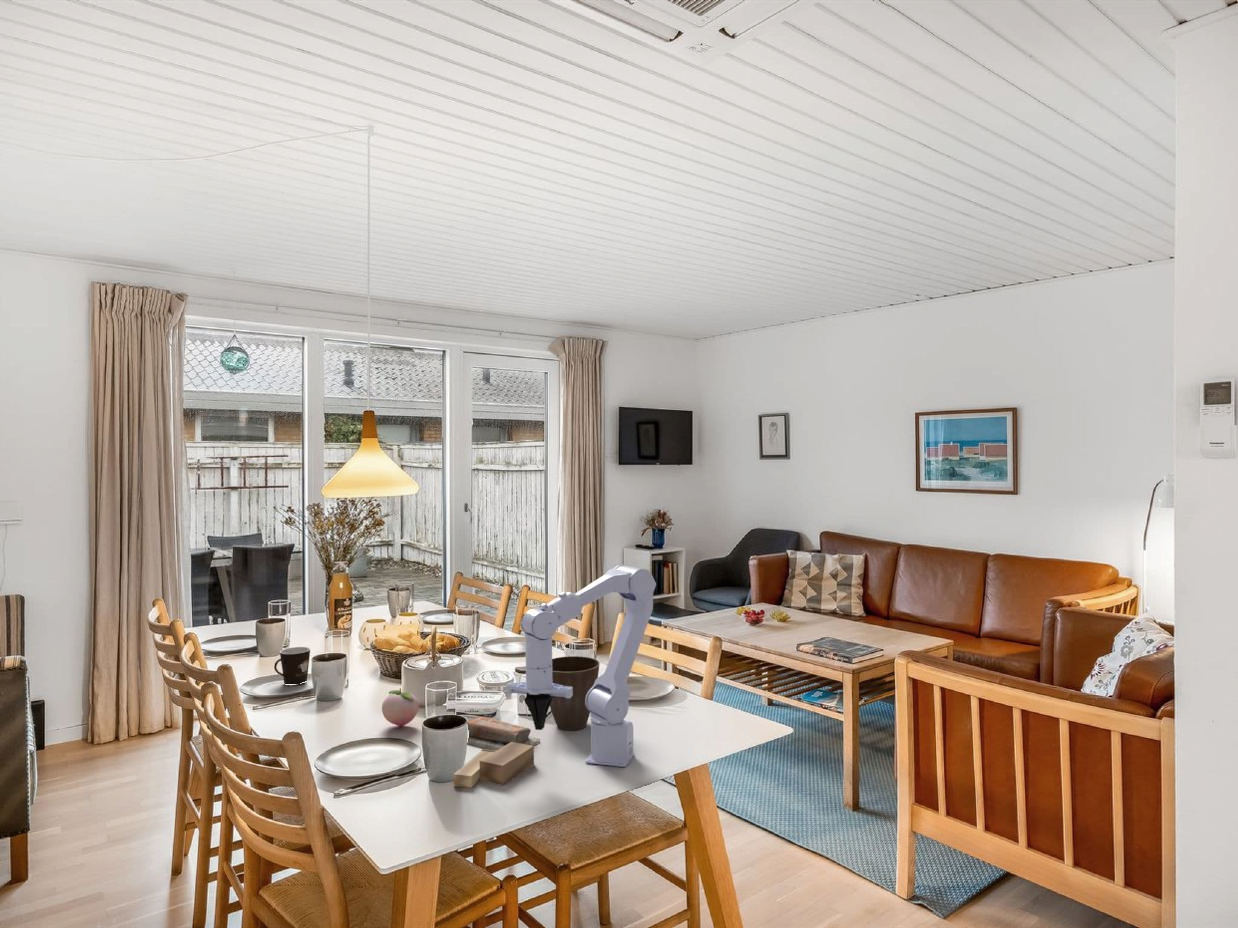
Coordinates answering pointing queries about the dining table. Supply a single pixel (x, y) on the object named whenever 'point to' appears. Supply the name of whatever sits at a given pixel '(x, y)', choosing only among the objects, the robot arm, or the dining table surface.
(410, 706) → the decorative fruit
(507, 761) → the block
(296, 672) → the coffee mug
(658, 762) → the dining table surface
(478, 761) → the light wooden bar
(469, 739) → the reddish brown brick
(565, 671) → the plant pot
